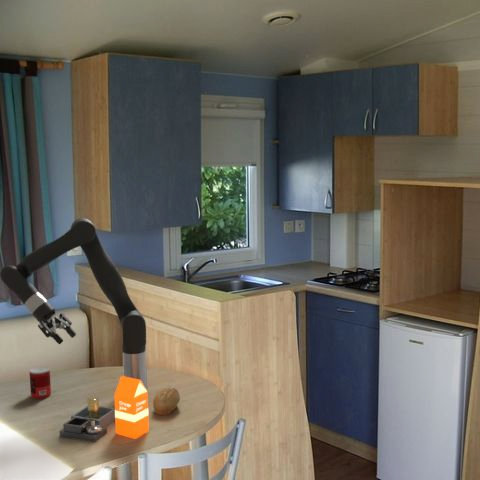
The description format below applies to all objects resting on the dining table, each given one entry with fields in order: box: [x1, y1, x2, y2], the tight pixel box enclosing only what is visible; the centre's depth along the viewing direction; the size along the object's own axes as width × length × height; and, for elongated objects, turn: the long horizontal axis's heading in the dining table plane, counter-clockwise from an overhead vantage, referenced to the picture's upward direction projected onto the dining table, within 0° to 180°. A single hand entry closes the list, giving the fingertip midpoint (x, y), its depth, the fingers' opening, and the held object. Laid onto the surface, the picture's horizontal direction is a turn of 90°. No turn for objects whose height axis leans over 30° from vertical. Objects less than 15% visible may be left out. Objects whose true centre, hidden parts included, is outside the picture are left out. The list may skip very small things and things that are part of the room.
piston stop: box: [86, 396, 100, 419], centre depth 261 cm, size 4×4×8 cm
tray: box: [70, 405, 115, 427], centre depth 262 cm, size 12×12×4 cm
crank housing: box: [58, 417, 108, 443], centre depth 251 cm, size 8×14×6 cm, turn 69°
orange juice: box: [113, 375, 150, 440], centre depth 252 cm, size 8×9×20 cm
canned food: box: [29, 365, 52, 400], centre depth 289 cm, size 8×8×11 cm
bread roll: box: [152, 387, 181, 416], centre depth 274 cm, size 10×15×8 cm, turn 174°
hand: (68, 339), depth 269 cm, fingers open, 8 cm apart
